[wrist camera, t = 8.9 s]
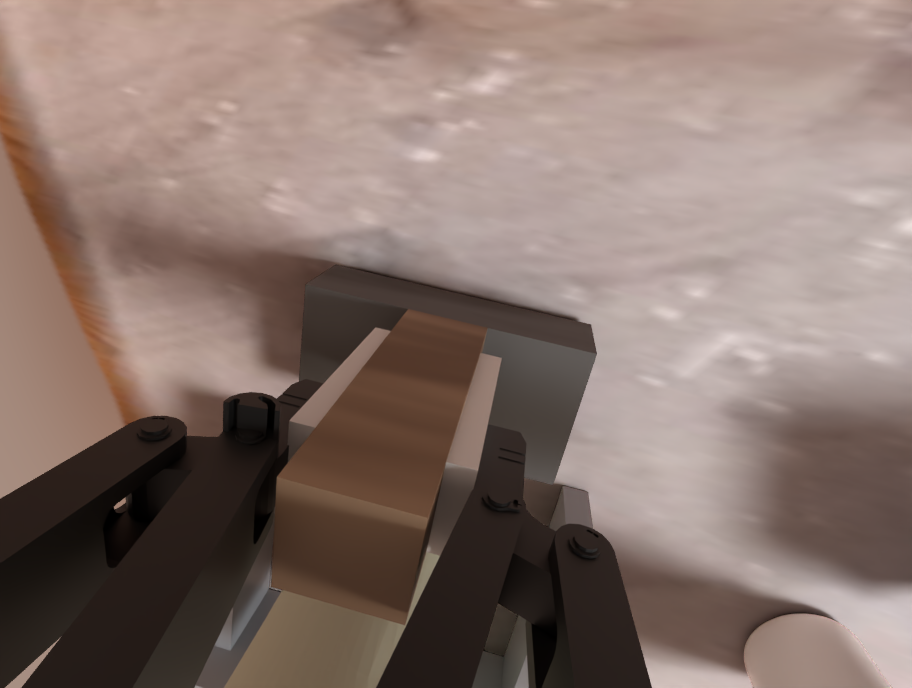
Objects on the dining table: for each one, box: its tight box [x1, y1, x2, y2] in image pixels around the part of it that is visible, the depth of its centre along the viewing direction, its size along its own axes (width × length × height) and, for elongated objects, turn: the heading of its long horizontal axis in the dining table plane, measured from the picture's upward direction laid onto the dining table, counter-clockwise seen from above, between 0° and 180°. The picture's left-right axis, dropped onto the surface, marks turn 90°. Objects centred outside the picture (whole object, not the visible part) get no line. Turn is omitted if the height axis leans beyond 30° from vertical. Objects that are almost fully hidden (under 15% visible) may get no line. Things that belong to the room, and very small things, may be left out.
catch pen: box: [194, 486, 593, 688], centre depth 25 cm, size 13×16×6 cm
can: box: [224, 552, 440, 688], centre depth 22 cm, size 9×9×12 cm
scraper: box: [271, 265, 597, 625], centre depth 17 cm, size 6×11×13 cm, turn 79°
